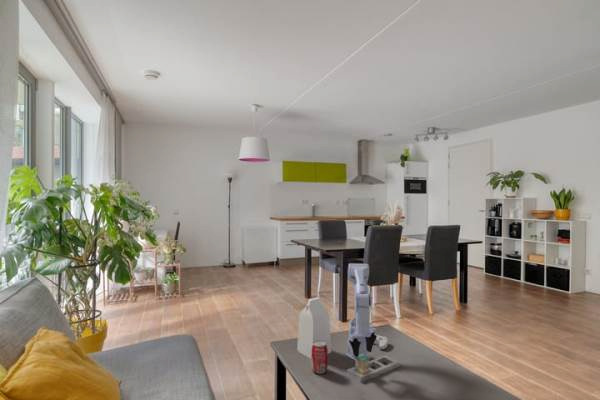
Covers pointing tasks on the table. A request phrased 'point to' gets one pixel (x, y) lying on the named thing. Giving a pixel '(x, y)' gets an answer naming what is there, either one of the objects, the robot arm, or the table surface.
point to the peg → (362, 364)
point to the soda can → (319, 357)
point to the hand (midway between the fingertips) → (362, 353)
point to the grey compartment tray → (374, 373)
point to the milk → (313, 327)
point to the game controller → (381, 341)
